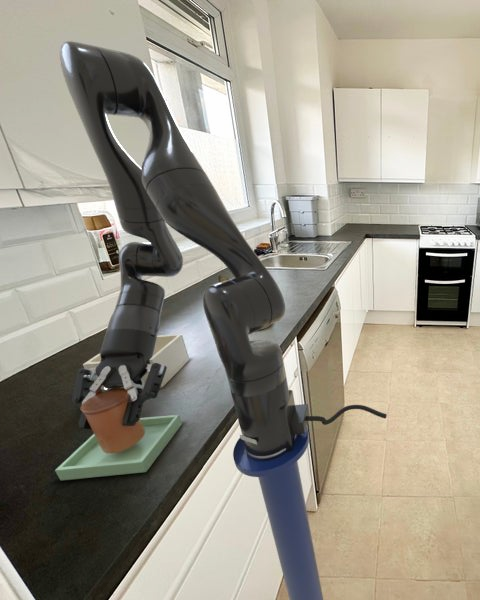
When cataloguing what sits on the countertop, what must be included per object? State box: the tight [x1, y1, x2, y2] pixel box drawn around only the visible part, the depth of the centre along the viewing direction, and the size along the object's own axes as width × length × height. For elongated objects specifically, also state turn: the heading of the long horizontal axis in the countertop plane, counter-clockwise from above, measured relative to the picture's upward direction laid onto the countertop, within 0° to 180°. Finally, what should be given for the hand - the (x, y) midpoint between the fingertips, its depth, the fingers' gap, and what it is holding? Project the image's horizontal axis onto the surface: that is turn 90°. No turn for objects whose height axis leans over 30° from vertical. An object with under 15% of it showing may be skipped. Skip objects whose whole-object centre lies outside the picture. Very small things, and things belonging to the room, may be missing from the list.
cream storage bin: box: [82, 333, 190, 389], centre depth 78 cm, size 15×13×8 cm
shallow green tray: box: [54, 414, 183, 481], centre depth 56 cm, size 13×11×2 cm
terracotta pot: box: [80, 388, 145, 453], centre depth 54 cm, size 6×6×9 cm
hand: (108, 427), depth 53 cm, fingers closed on terracotta pot, 6 cm apart
